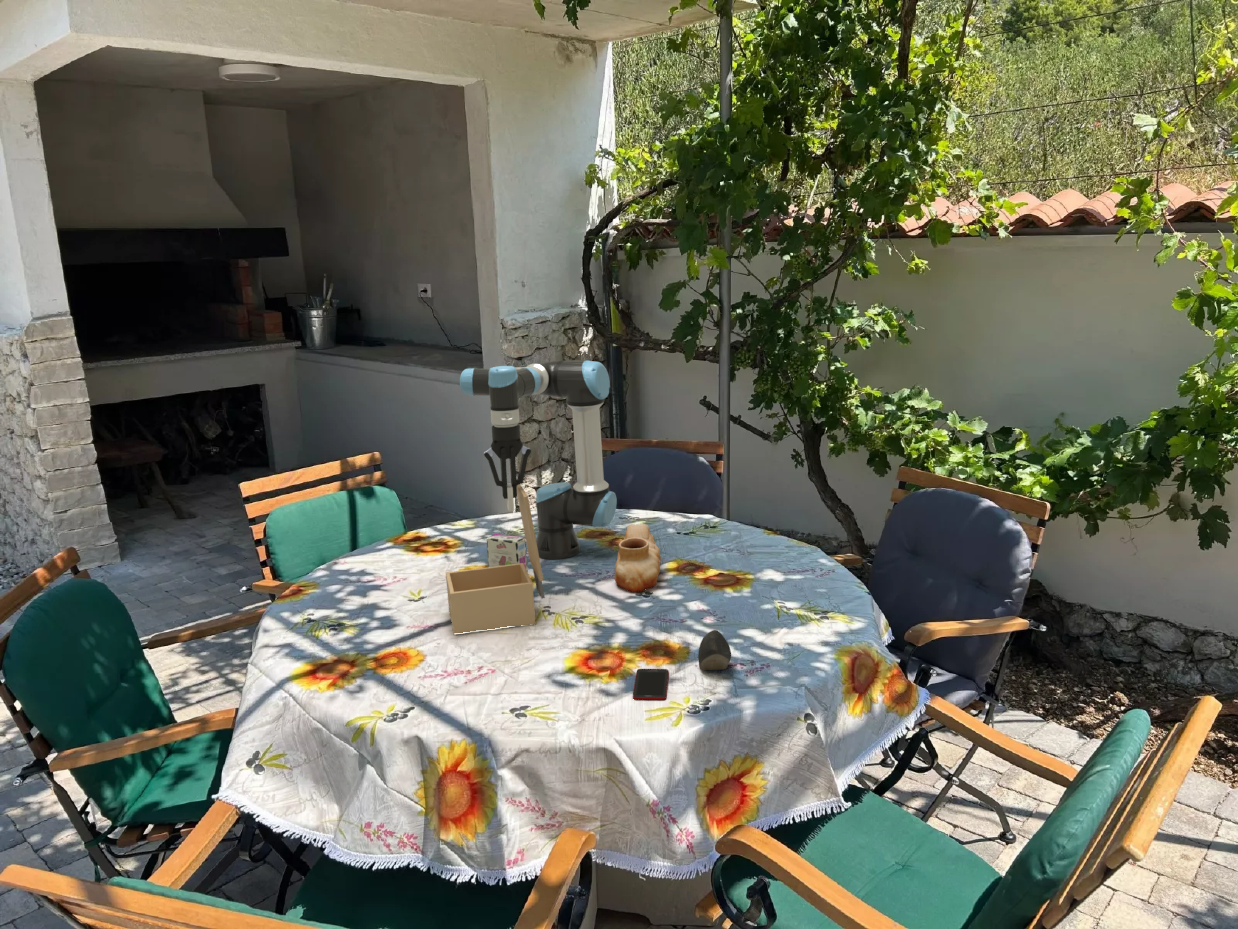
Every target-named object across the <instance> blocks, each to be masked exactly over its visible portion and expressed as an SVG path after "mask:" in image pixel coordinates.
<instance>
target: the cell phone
mask: <svg viewBox="0 0 1238 929" xmlns="http://www.w3.org/2000/svg"><path fill="white" fill-rule="evenodd" d="M669 673H670V671H669V669H667V668H638V669H637V670H636V673H635V678H634V686H633V690H632V700H633V699H634V700H633V701H661V702H663V701H666V700H667V697H668V693H667V692H668V686H669V685H668V684H669V676H670V674H669Z"/></svg>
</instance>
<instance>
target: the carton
mask: <svg viewBox="0 0 1238 929" xmlns="http://www.w3.org/2000/svg"><path fill="white" fill-rule="evenodd" d="M445 580H446V590H447V600H448V601H447V602H448V612H450V614H449V617H451V618H450V621H451V622H452V623H451V622H450V623H451V627H452V626H453V628H452V631H454V632H453V634H454V633H463V632H470V631H476V630H487V629H495V628H500V627H507V626H521V625H529V626H531V625H530V624H535V625H536V613H535V599H534V583H533V581H532V579H531V577H530V574H529V573H528V569H527V570H526V568H525V566H524V564H523V563H519V564H511V565H503V566H495V567H489V566H488V567H479V568H472V569H471V568H470V569H464V570H455V571H448V572H445ZM521 627H522V626H521Z"/></svg>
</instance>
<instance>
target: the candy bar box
mask: <svg viewBox="0 0 1238 929" xmlns="http://www.w3.org/2000/svg"><path fill="white" fill-rule="evenodd" d="M486 548H487V563H488V567H495V566H503V565H511V564H519V563H523V564H524V566H525V568H526V570H527V571H528V562H527V560H528V557H527V544H526V538H525V536H523V537H522V536H516V535H508V534H507V535H506V534H500V533H499V534H498V533H494V534H492V535H490V536H489V537H487V538H486Z"/></svg>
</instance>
